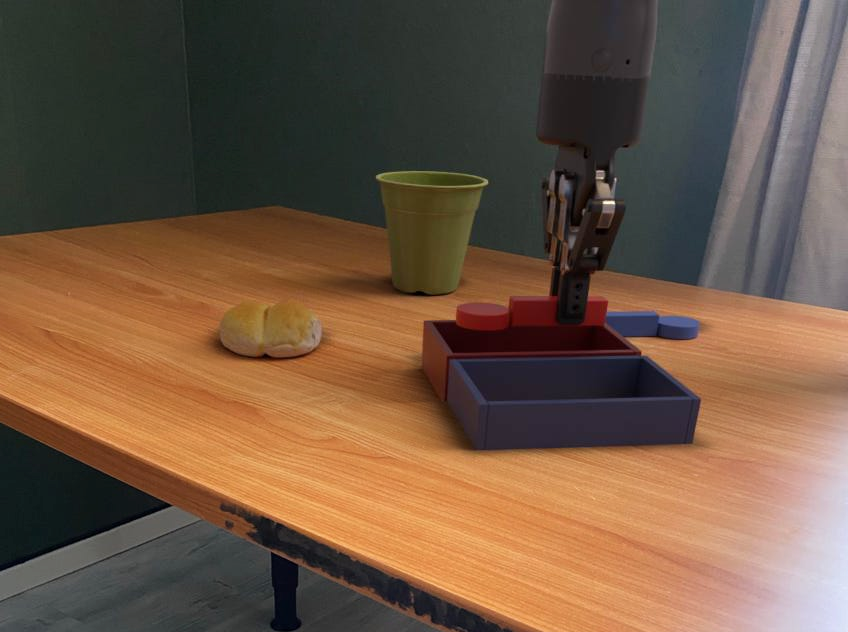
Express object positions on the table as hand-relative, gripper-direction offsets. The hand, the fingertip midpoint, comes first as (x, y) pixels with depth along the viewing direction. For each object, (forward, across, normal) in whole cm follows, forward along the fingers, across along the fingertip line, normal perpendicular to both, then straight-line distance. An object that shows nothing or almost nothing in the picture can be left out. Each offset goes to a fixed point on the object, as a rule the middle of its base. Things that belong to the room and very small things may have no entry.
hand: (565, 319), depth 79 cm
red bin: (+5, 0, +3) cm, 6 cm away
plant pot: (+5, +34, +5) cm, 35 cm away
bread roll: (+6, +12, +23) cm, 27 cm away
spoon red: (0, 0, +3) cm, 3 cm away
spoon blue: (+5, +14, -12) cm, 20 cm away
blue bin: (+5, -11, +3) cm, 13 cm away
